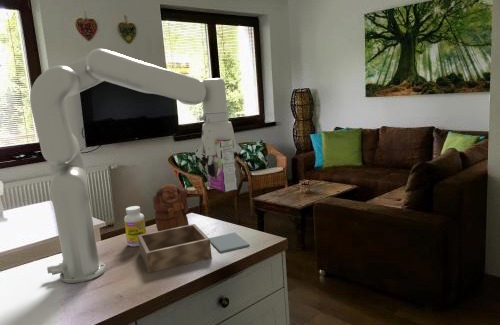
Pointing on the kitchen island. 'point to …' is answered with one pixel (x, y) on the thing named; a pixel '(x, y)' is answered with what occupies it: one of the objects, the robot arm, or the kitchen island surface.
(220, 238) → the grey mat
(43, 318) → the kitchen island surface
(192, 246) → the open wooden crate
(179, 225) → the wooden figurine
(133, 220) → the supplement bottle
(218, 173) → the candy bar box
